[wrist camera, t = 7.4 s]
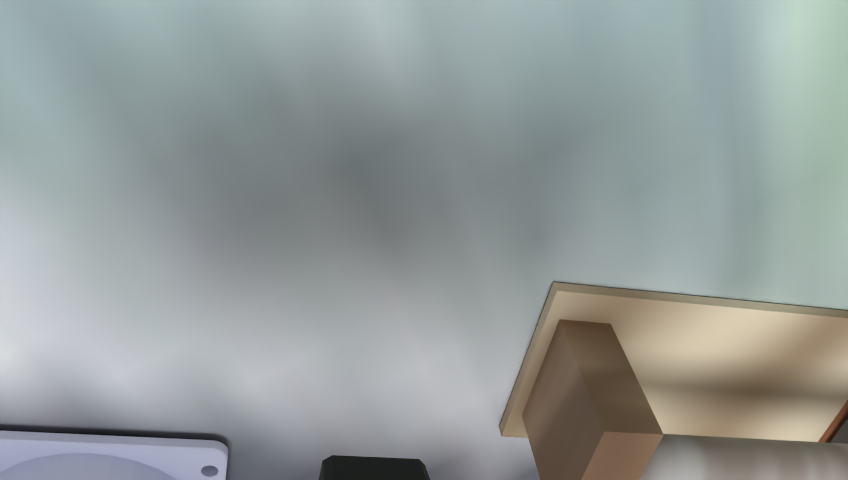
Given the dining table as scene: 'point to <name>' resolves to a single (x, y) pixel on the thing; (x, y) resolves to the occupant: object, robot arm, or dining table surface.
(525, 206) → the dining table surface
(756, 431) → the rail
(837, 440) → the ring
